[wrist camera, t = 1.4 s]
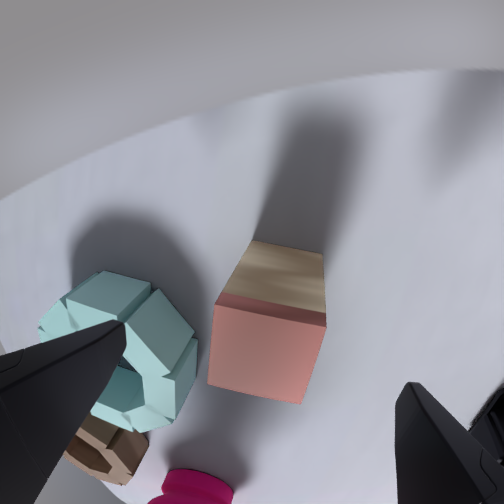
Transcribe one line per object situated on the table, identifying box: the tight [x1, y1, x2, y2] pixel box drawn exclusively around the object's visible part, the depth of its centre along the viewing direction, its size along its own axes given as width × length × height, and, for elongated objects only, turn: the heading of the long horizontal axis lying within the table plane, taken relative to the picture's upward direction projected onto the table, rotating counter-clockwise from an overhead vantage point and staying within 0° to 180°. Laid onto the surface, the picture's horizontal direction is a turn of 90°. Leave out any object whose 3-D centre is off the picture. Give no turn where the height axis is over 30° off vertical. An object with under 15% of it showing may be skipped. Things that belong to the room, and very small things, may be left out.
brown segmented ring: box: [63, 411, 149, 486], centre depth 21 cm, size 9×9×4 cm
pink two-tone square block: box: [207, 240, 326, 404], centre depth 12 cm, size 3×3×6 cm
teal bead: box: [38, 271, 198, 433], centre depth 16 cm, size 9×9×4 cm
